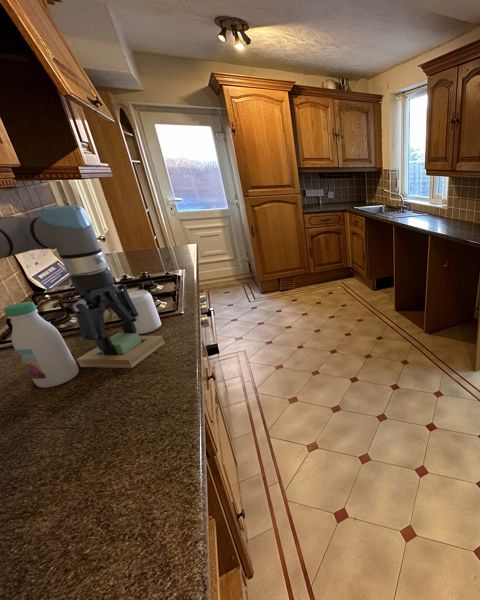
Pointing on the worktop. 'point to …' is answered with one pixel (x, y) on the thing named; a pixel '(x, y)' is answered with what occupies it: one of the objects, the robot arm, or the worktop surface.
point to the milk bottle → (40, 346)
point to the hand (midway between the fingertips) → (123, 350)
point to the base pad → (122, 361)
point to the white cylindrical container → (145, 311)
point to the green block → (125, 342)
